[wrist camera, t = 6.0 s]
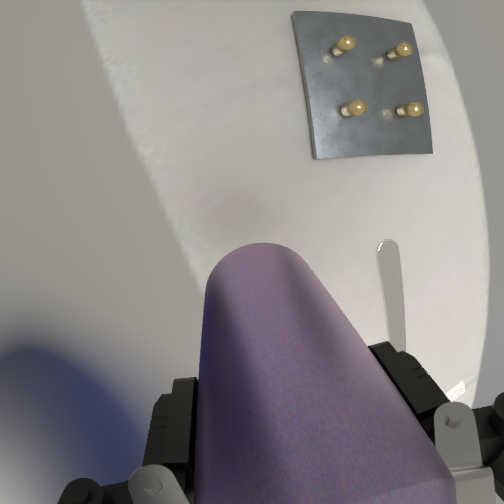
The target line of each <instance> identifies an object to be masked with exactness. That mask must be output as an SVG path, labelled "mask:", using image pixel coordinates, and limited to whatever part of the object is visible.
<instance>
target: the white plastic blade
mask: <svg viewBox="0 0 504 504" xmlns="http://www.w3.org/2000/svg"><path fill="white" fill-rule="evenodd" d="M464 392H465V384H464V381H461V382H460V383H459V384H458V385H456V386H455V387H454V388H452V389H451V390H450V391H448V392H447V393H446V394H445V395H446V396H447V398H448V399H449V400H450V401H451V402H453V401H454V400H455V399H457V398H458V397H459V396H460V395H462V394H463V393H464Z"/></svg>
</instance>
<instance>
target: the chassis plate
mask: <svg viewBox="0 0 504 504" xmlns="http://www.w3.org/2000/svg"><path fill="white" fill-rule="evenodd" d="M291 17H292V22H293V27H294V32H295V38H296V43H297V49H298V54H299V60H300V66H301V72H302V78H303V85H304V91H305V98H306V105H307V112H308V120H309V127H310V135H311V144H312V152H313V159H324V158H337V157H351V156H367V155H389V154H433V149H432V137H431V127H430V118H429V110H428V102H427V96H426V89H425V83H424V77H423V72H422V67H421V62H420V57H419V52H418V48H417V44H416V39H415V35H414V31H413V28H412V24H411V23H406V22H401V21H396V20H390V19H384V18H378V17H371V16H364V15H355V14H345V13H333V12H316V11H294V12H293V14H292V16H291Z"/></svg>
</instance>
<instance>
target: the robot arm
mask: <svg viewBox="0 0 504 504" xmlns="http://www.w3.org/2000/svg"><path fill="white" fill-rule="evenodd" d="M368 348H369V349H370V351H371V352H372V354H373V355H374V357H375V358H376V359H377V361H378V362H379V364H380V365H381V367H382V368H383V370H384V371H385V372H386V374H387V375H388V377H389V378H390V380H391V381H392V383H393V384H394V386H395V387H396V389H397V390H398V391H399V393H400V394H401V396H402V397H403V399H404V400H405V402H406V403H407V405H408V406H409V408H410V409H411V411H412V412H413V414H414V415H415V417H416V418H417V420H418V421H419V423H420V424H421V426H422V428H423V429H424V431H425V432H426V434H427V435H428V437H429V438H430V440H431V441H432V443H433V445H434V446H435V448H436V449H437V451H438V452H439V454H440V456H441V457H442V459H443V460H444V462H445V464H446V465H447V467H448V468H449V470H450V472H451V474H452V476H453V477H454V479H455V482H456V499H457V504H496V500H495V492H496V493H497V494H498V495H499V497H500V498H501V499H502V500H503V501H504V392H503V393H501V394H500V395H498V396H497V398H496V399H495V401H494V404H493V405H491V406H487V407H482V408H477V409H471V408H470V407H468V406H467V405H465V404H463V403H460V402H451V401H450V400H449V399H448V398H447V396H446V395H445V394H444V393H443V391H442V390H441V389H440V388H439V386H438V385H437V384H436V383H435V381H434V380H433V379H432V378H431V377H430V375H428V373H427V372H426V370H425V369H424V368H422V366H421V364H420V363H419V362H418V361H417V360H416V358H415V357H413V356H412V355H410V354H408V353H406V352H405V351H400V352H397V351H396V350H395V348H394V347H393V346H392V345H391V343H390V342H388V341H385V342H382V343H378V344H375V345H371V346H368ZM197 394H198V380H197V378H196V377H191V378H180V379H175V380H174V382H173V388H172V394H162V395H161V396H160V398H159V399H158V401H157V402H156V403H155V404H154V408H153V412H152V419H151V422H150V429H149V433H148V438H147V444H146V449H145V454H144V460H143V465H142V467H141V468H139V469H137V470H136V471H135V472H134V473H133V474H132V475H131V477H130V479H129V480H128V481H125V482H121V483H116V484H111V485H106V486H100V485H99V484H98V483H97V482H96V481H94V480H92V479H88V478H79V479H75V480H73V481H72V482H70V483H69V484H68V485H67V486H66V487H65V489H64V491H63V493H62V495H61V497H60V499H59V501H58V504H194V463H195V435H196V413H197Z"/></svg>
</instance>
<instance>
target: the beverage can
mask: <svg viewBox="0 0 504 504" xmlns="http://www.w3.org/2000/svg"><path fill="white" fill-rule="evenodd" d="M201 336H202V337H201V349H200V363H199V378H198V394H197V413H196V435H195V463H194V504H457V499H456V482H455V479H454V477H453V476H452V474H451V472H450V470H449V468H448V467H447V465H446V464H445V462H444V460H443V459H442V457H441V456H440V454H439V452H438V451H437V449H436V448H435V446H434V445H433V443H432V441H431V440H430V438H429V437H428V435H427V434H426V432H425V431H424V429H423V428H422V426H421V424H420V423H419V421H418V420H417V418H416V417H415V415H414V414H413V412H412V411H411V409H410V408H409V406H408V405H407V403H406V402H405V400H404V399H403V397H402V396H401V394H400V393H399V391H398V390H397V389H396V387H395V386H394V384H393V383H392V381H391V380H390V378H389V377H388V375H387V374H386V372H385V371H384V370H383V368H382V367H381V365H380V364H379V362H378V361H377V359H376V358H375V357H374V355H373V354H372V352H371V351H370V349H369V348H368V347H367V345H366V344H365V342H364V341H363V340H362V338H361V337H360V335H359V334H358V332H357V331H356V330H355V328H354V327H353V325H352V324H351V323H350V321H349V320H348V319H347V317H346V316H345V314H344V313H343V312H342V310H341V309H340V307H339V306H338V305H337V303H336V302H335V301H334V299H333V298H332V297H331V295H330V294H329V292H328V291H327V290H326V288H325V287H324V286H323V284H322V283H321V282H320V280H319V279H318V278H317V276H316V275H315V274H314V272H313V271H312V270H311V268H310V267H309V266H308V264H307V263H306V262H305V260H304V259H303V258H302V257H301V256H299V255H298V254H297V253H296V252H294V251H292V250H291V249H289V248H287V247H284V246H281V245H277V244H272V243H255V244H250V245H246V246H243V247H240V248H238V249H236V250H234V251H232V252H231V253H229V254H228V255H226V256H225V257H224V258H223V259H222V260H221V261H220V262H219V263H218V264H217V265H216V266H215V268H214V269H213V271H212V272H211V274H210V276H209V279H208V281H207V285H206V290H205V300H204V311H203V323H202V335H201Z"/></svg>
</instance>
